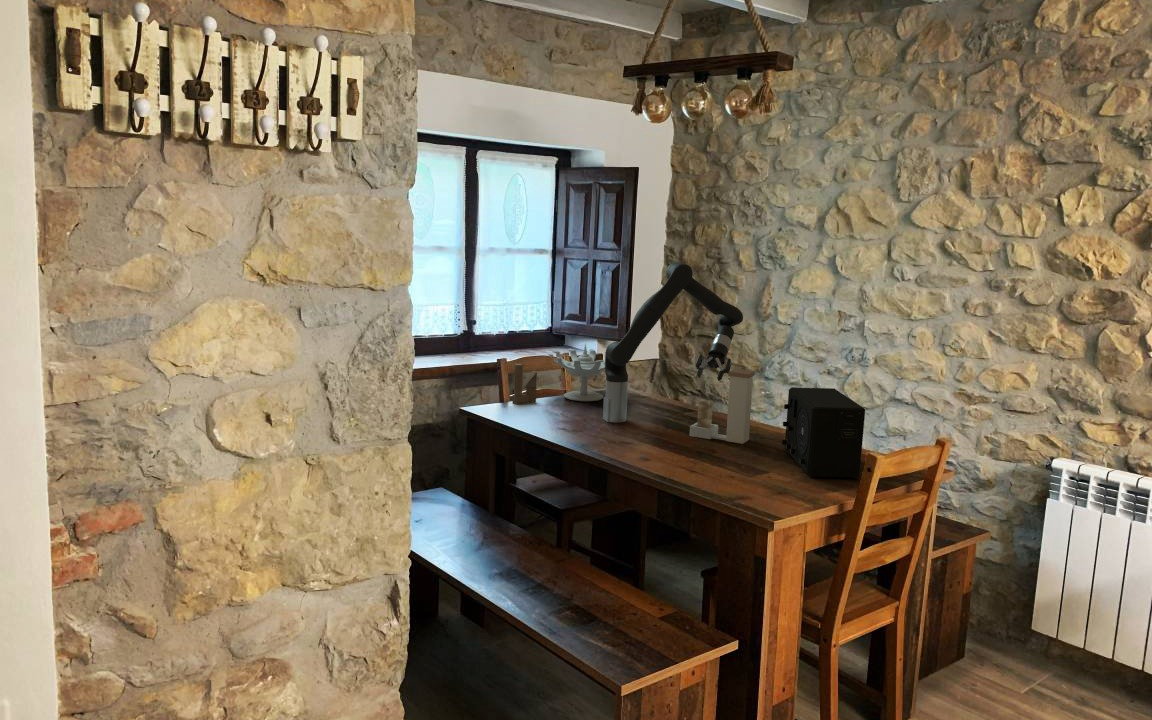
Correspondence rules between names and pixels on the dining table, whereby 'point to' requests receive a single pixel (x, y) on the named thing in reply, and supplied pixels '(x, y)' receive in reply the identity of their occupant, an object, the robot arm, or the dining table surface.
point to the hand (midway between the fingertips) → (708, 378)
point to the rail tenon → (704, 413)
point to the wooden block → (524, 386)
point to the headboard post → (733, 410)
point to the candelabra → (582, 372)
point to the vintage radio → (824, 432)
